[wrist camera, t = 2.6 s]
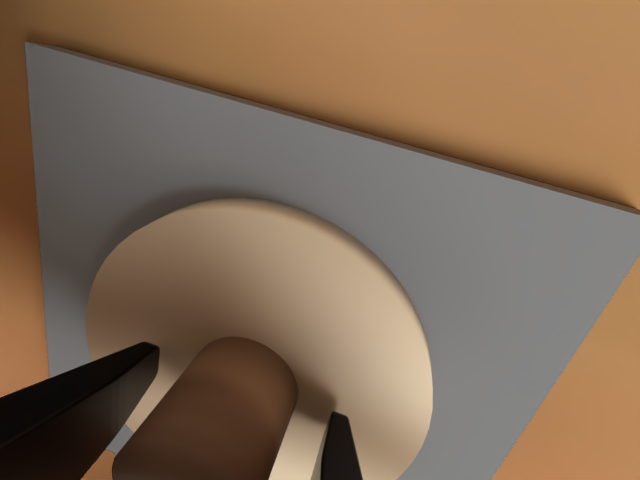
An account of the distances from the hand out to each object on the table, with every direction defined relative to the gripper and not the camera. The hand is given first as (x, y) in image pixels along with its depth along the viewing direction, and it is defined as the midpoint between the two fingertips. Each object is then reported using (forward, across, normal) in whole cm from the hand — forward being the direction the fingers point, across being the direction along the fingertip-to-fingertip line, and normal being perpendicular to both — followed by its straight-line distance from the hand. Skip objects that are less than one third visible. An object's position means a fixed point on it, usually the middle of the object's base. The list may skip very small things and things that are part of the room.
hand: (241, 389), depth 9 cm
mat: (+2, 0, 0) cm, 2 cm away
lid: (+1, 0, 0) cm, 1 cm away
